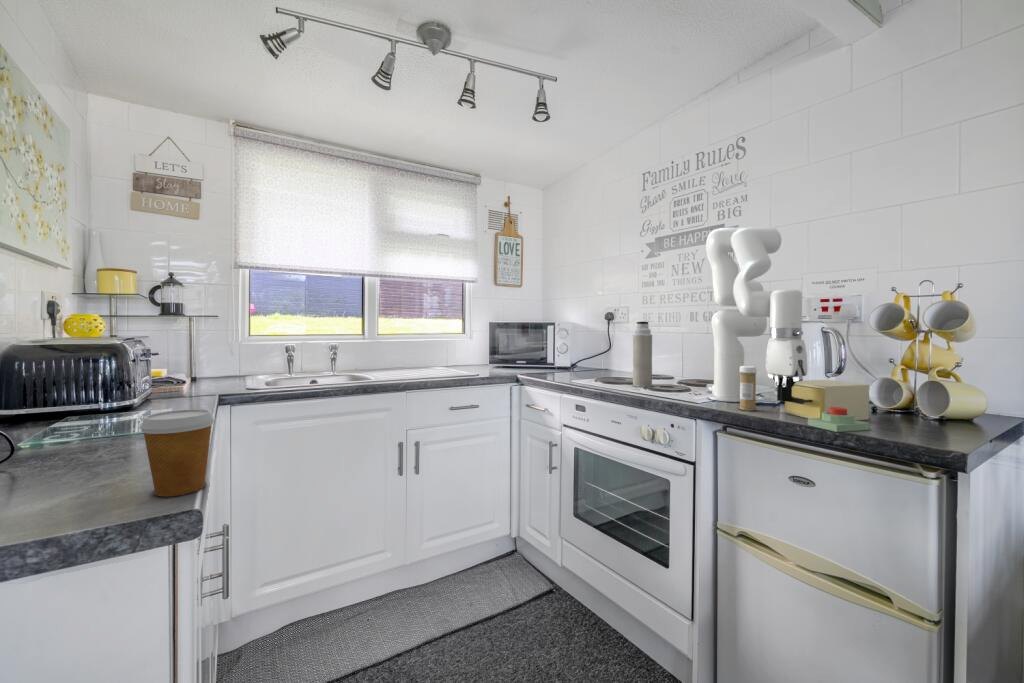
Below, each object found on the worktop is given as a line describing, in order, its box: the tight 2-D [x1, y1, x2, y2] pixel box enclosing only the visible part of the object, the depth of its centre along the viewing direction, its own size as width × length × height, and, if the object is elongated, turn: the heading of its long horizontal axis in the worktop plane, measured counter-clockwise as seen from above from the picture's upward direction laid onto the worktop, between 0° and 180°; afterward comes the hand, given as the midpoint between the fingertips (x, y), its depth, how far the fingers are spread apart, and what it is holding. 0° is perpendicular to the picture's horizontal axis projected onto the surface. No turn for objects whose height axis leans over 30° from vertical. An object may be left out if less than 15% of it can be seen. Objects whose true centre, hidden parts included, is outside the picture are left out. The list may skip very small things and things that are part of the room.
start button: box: [829, 407, 847, 415], centre depth 112 cm, size 4×4×2 cm
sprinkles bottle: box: [739, 365, 757, 412], centre depth 136 cm, size 5×5×13 cm
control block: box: [807, 411, 870, 433], centre depth 112 cm, size 8×10×4 cm
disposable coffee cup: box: [139, 408, 216, 498], centre depth 70 cm, size 10×10×12 cm
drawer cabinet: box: [786, 379, 870, 421], centre depth 126 cm, size 15×13×10 cm
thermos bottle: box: [632, 321, 653, 388], centre depth 193 cm, size 8×8×28 cm
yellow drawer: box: [784, 385, 824, 418], centre depth 125 cm, size 18×11×8 cm, turn 103°
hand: (784, 400), depth 123 cm, fingers closed
